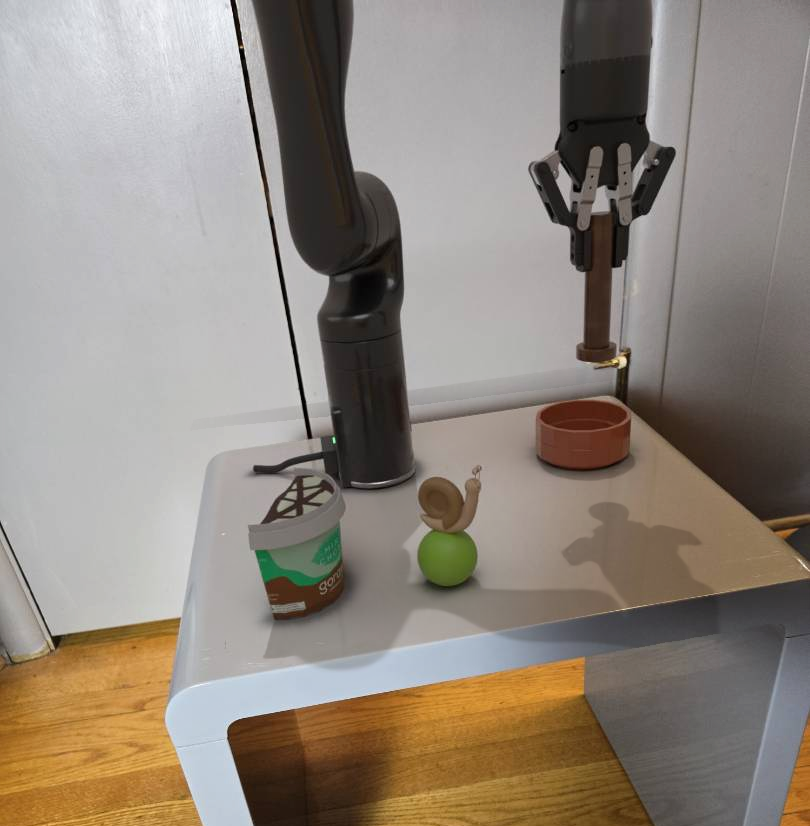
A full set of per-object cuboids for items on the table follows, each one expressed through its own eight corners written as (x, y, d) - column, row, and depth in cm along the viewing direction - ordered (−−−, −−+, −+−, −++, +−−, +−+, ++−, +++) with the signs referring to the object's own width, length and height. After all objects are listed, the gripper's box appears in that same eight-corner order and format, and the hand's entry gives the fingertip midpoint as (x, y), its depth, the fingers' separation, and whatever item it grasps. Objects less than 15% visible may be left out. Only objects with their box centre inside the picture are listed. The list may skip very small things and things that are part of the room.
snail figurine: (471, 606, 64) (464, 480, 58) (408, 589, 67) (395, 468, 61) (498, 575, 68) (494, 454, 62) (438, 561, 71) (428, 445, 65)
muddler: (584, 364, 74) (587, 217, 67) (570, 354, 77) (572, 213, 70) (622, 359, 74) (629, 212, 67) (606, 349, 77) (612, 209, 71)
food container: (335, 633, 62) (318, 529, 57) (267, 629, 64) (245, 528, 59) (370, 558, 73) (358, 465, 68) (311, 556, 74) (295, 465, 69)
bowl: (552, 477, 85) (553, 437, 82) (525, 443, 94) (524, 406, 92) (644, 464, 86) (647, 423, 83) (607, 432, 95) (609, 394, 93)
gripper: (661, 53, 67) (649, 255, 75) (513, 69, 66) (517, 272, 74) (704, 44, 60) (685, 265, 69) (540, 60, 59) (541, 284, 67)
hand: (598, 267), depth 71 cm, fingers closed on muddler, 2 cm apart
